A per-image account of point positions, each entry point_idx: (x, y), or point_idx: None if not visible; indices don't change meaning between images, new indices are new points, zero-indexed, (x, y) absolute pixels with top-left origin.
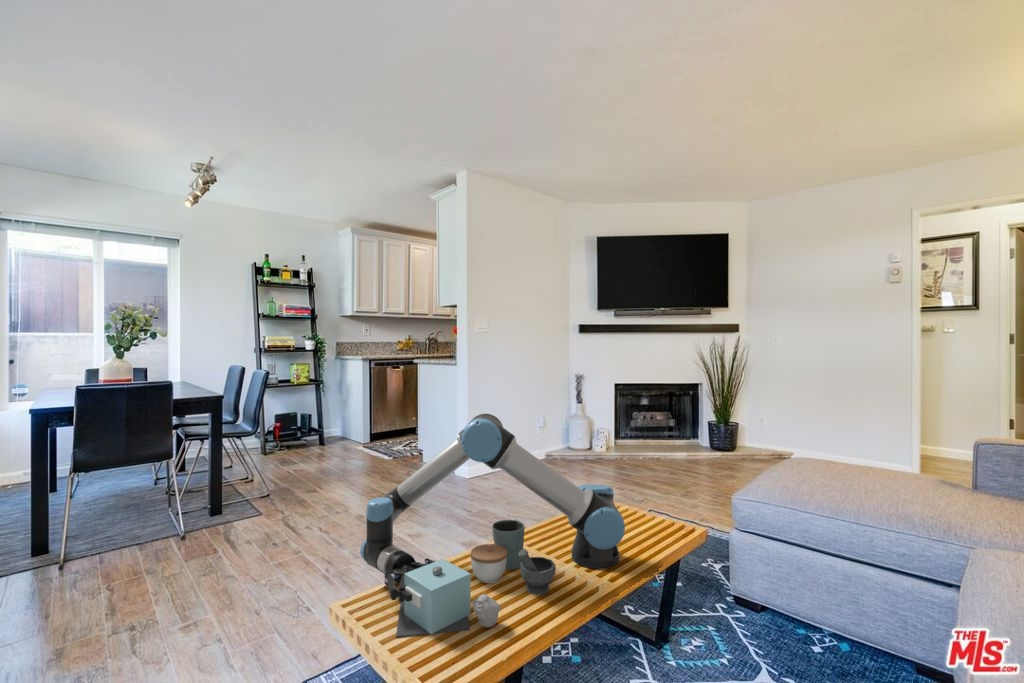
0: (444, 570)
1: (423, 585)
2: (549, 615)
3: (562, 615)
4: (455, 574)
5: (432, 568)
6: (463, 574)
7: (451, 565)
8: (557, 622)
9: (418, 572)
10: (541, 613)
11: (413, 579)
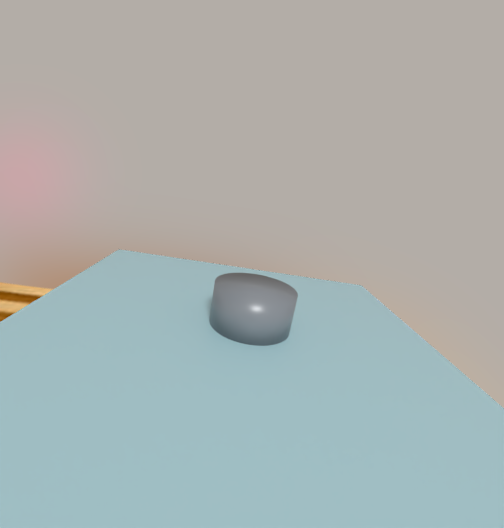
0: (172, 314)
1: (392, 314)
2: (11, 300)
3: (3, 288)
4: (172, 273)
5: (221, 391)
6: (146, 259)
7: (43, 317)
8: (43, 289)
9: (419, 440)
10: (5, 310)
11: (473, 382)
